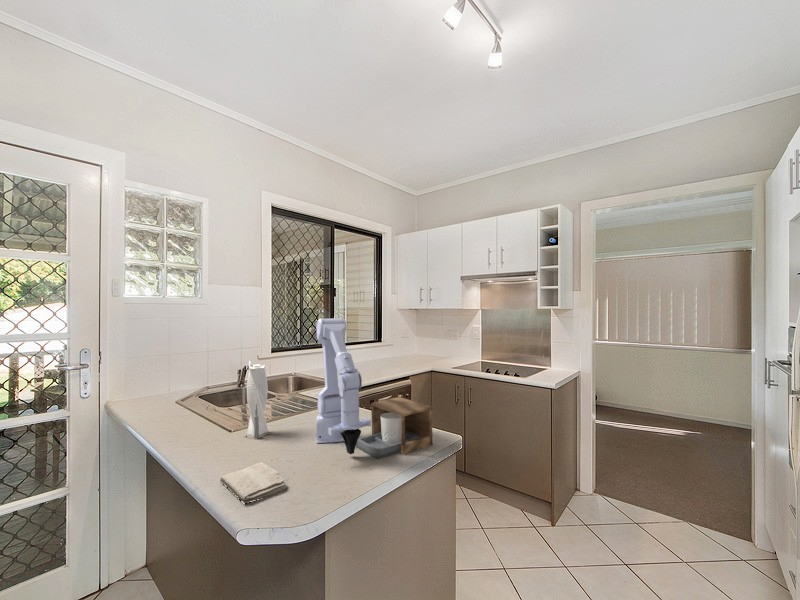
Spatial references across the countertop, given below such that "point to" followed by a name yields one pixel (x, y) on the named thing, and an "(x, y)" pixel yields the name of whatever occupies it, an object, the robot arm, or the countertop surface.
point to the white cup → (391, 428)
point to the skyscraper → (257, 401)
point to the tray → (382, 444)
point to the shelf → (406, 421)
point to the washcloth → (254, 482)
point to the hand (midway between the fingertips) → (350, 452)
